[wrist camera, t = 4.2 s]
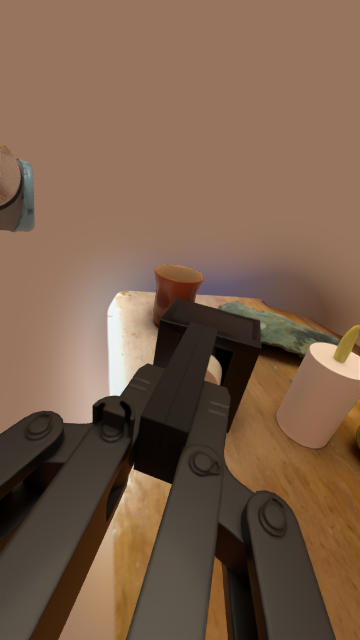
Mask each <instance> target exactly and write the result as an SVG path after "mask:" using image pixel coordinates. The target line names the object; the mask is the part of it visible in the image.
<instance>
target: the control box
mask: <svg viewBox="0 0 360 640" xmlns="http://www.w3.org/2000/svg"><path fill="white" fill-rule="evenodd" d="M190 322H194V323H197V324H201V325H205V326H208V327H212V328H215V329H218V332H217V336H216V339H215V343H214V347H216V355H215V358H216V359H217V361H218V362H219V364H220V366H221V368H222V377H221V382H220V386H224V387H227V389H228V392H229V395H230V397H231V399H230V407H229V415H228V423H227V431H226V432H227V433H228V432H229V429H230V427H231V424H232V422H233V419H234V416H235V414H236V411H237V409H238V406H239V404H240V401H241V399H242V396H243V394H244V391H245V389H246V386H247V384H248V381H249V379H250V376H251V374H252V371H253V369H254V366H255V364H256V361H257V358H258V356H259V353H260V351H261V321H260V320H256V319H253V318H249V317H245V316H242V315H238V314H234V313H230V312H227V311H223V310H219V309H216V308H212V307H208V306H204V305H201V304H197V303H193V302H190V301H186V300H182V299H178V298H176V299H175V301H174V302H173V303H172V305H171V306H170V307H169V308H168V310H167V311H166V312H165V314H164V315H163V316H162V317H161V319H160V322H159V329H158V336H157V342H156V349H155V356H154V363H153V365H155V366H158V367H161V368H164V369H166V367H167V365H168V363H169V361H170V359H171V357H172V356H173V354H174V352H175V350H176V348H177V346H178V344H179V342H180V340H181V339H182V337H183V335H184V333H185V331H186V329H187V327H188V325H189V323H190Z"/></svg>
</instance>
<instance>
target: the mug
mask: <svg viewBox="0 0 360 640" xmlns="http://www.w3.org/2000/svg"><path fill="white" fill-rule="evenodd" d="M155 276H156V283H157V289H156V296H155V301H154V308H153V317H154V322H155V323H156V324H157V325H158V326H159V322H160V319H161V317H162V316H163V315H164V314H165V312H166V311H167V310H168V308H169V307H170V306H171V305H172V303H173V302H174V301H175V299H176V298H178V299H182V300H186V301H190V302H193V303H195V298H196V294H197V291H198V289H199V287H200V285H201V283H202V282H203V280H204V276H203V275H202V274H201V273H200V272H198V271H196V270H194V269H191V268H188V267H183V266H179V265H161V266H158V267H156V268H155Z"/></svg>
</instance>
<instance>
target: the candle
mask: <svg viewBox="0 0 360 640" xmlns="http://www.w3.org/2000/svg"><path fill="white" fill-rule="evenodd" d="M359 331H360V325H356V326H354V327H352V328H351V329H350V330H349V331H348V332H347V333H346V334H345V335H344V337H343V338H342V340H341V341H340V343H339V345H338V346H336V345H333V344H329V343H321V342H320V343H314V344H312V345H311V346H310V347H309V349H308V351H307V353H306V355H305V357H304V359H303V361H302V363H301V365H300V367H299V369H298V371H297V373H296V375H295V377H294V379H293V381H292V383H291V385H290V387H289V389H288V391H287V393H286V395H285V396H284V398H283V400H282V402H281V404H280V406H279V408H278V410H277V413H276V418H277V422H278V424H279V426H280V428H281V429H282V430H283V432H284V433H285V434H286V435H287V436H288V437H289V438H291V439H292V440H294V441H295V442H296V443H298V444H300V445H303V446H305V447H309V448H316V449H318V448H322V447H324V446H325V445H326V444H327V443H328V441H329V440H330V438H331V437H332V436H333V434H334V433H335V431H336V430H337V429H338V427H339V426H340V424H341V423H342V421H343V420H344V419H345V417H346V416H347V414H348V413H349V412H350V410H351V409H352V407H353V406H354V405H355V403H356V402H357V400H358V399H359V397H360V357H359V356H358V355H356V354H354V353H352V352H351V350H352V348H353V346H354V343H355V341H356V339H357V336H358V334H359Z"/></svg>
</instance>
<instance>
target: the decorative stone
mask: <svg viewBox="0 0 360 640" xmlns="http://www.w3.org/2000/svg"><path fill="white" fill-rule="evenodd" d="M218 309H219V310H223V311H227V312H230V313H234V314H238V315H242V316H245V317H249V318H253V319H256V320H260V321H261V343H263V344H267V345H273V346H278V347H281V348H283V349H284V350H286V351H288V352H293V353H297V354H299V357H302V358H304V357H305V355H306V353H307V351H308V349H309V347H310V346H311V345H312V344H314V343H320V342H321V343H329V344H333V345H336V346H338V345H339V343H340V341H339V340H337V339H336V338H335V337H334V336H331V335H329V334H325V333H321V332H319V331H316V330H314V329H311V328H308V327H306V326H303V325H300V324H298V323H295V322H292V321H291V320H289V319H288V318H286V317H283V316H281V315H278V314H275V313H272V312H268V311H260V312H257V311H256V310H255V309H254V308H249V307H247V306H245V305H244V304H243V303H240V302H239V301H236V302H230V303H227V304H224V305H220V306H219V307H218Z"/></svg>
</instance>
